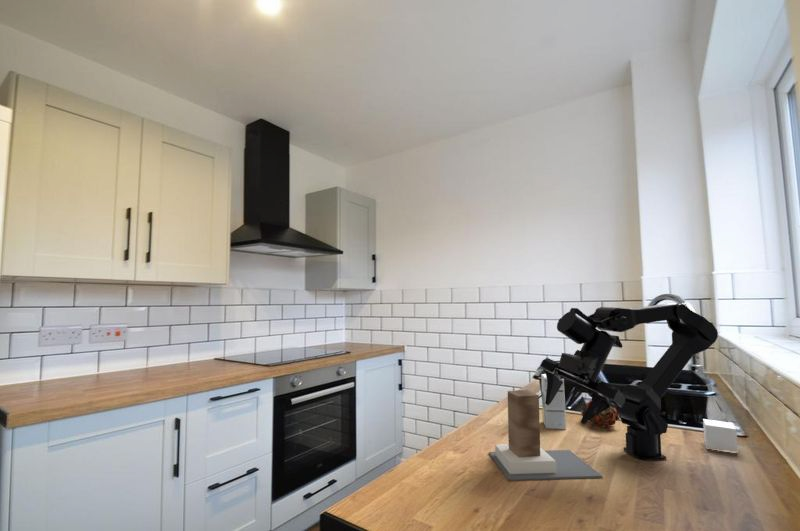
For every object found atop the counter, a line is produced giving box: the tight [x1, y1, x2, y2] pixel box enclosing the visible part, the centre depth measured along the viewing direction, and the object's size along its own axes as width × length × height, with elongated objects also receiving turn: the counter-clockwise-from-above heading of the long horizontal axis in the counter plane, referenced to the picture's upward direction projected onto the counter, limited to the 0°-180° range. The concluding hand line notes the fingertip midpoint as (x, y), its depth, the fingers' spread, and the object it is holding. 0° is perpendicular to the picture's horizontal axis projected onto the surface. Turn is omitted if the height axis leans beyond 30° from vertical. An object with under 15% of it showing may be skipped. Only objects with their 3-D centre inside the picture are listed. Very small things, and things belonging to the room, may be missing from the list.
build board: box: [488, 443, 603, 481], centre depth 89 cm, size 20×14×3 cm
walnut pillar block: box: [507, 389, 541, 458], centre depth 89 cm, size 5×5×13 cm
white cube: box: [702, 418, 739, 453], centre depth 99 cm, size 6×6×6 cm
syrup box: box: [540, 373, 567, 430], centre depth 116 cm, size 6×6×14 cm
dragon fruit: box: [580, 400, 621, 429], centre depth 117 cm, size 8×8×12 cm
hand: (563, 413), depth 91 cm, fingers open, 9 cm apart
